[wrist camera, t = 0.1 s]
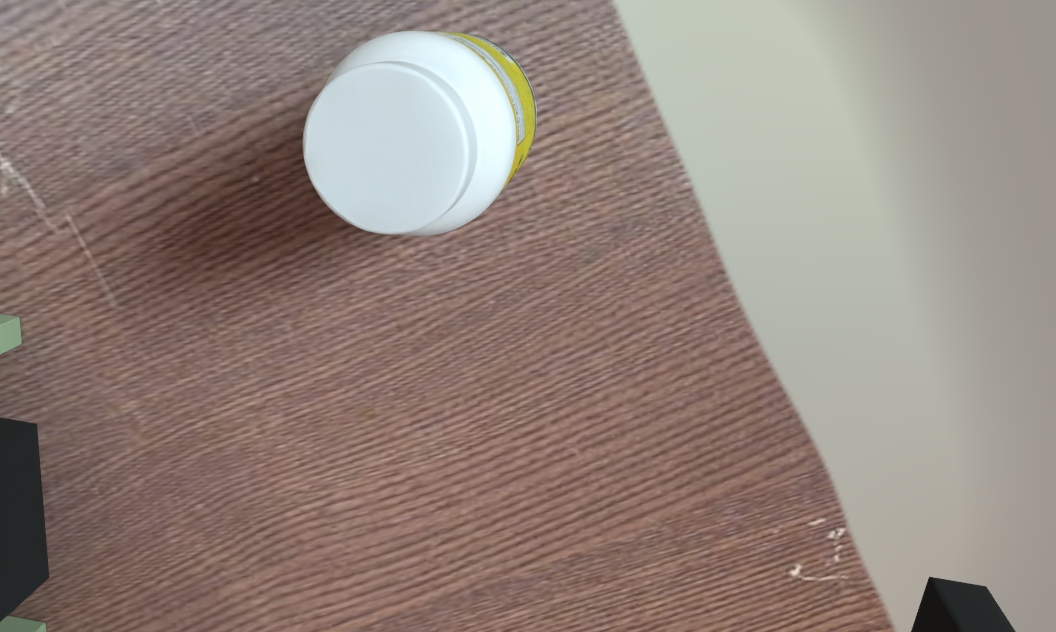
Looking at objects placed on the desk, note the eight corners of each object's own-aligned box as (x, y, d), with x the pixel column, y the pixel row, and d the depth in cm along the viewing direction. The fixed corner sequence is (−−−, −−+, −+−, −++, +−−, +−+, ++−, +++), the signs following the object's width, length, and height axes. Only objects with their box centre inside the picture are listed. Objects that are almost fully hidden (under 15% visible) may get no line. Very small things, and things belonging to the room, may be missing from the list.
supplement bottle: (422, 215, 30) (327, 293, 20) (360, 68, 28) (228, 80, 19) (563, 162, 29) (531, 219, 19) (505, 7, 27) (441, -13, 18)
